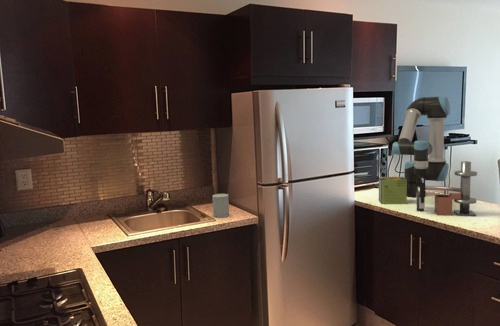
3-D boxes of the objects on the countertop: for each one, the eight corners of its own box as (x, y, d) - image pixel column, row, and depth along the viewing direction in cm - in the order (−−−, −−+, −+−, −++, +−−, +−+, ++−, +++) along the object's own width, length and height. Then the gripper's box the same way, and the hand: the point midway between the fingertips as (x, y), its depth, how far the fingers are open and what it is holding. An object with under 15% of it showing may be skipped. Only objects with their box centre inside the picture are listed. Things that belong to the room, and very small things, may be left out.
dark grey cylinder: (416, 209, 248) (416, 186, 246) (423, 209, 247) (423, 186, 245) (417, 211, 244) (417, 187, 242) (424, 211, 243) (425, 187, 241)
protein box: (407, 204, 262) (407, 179, 260) (381, 204, 264) (381, 179, 262) (403, 200, 272) (403, 176, 270) (378, 200, 274) (378, 176, 272)
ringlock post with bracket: (433, 211, 243) (434, 160, 239) (472, 211, 239) (474, 160, 235) (438, 216, 232) (439, 163, 229) (478, 216, 228) (480, 163, 224)
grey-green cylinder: (216, 218, 246) (215, 197, 244) (211, 215, 254) (210, 194, 253) (231, 216, 249) (230, 195, 248) (226, 212, 258) (225, 193, 256)
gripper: (410, 165, 253) (410, 201, 256) (417, 170, 232) (416, 210, 235) (424, 164, 252) (423, 201, 255) (432, 170, 230) (431, 211, 233)
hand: (420, 206), depth 245 cm, fingers open, 10 cm apart
